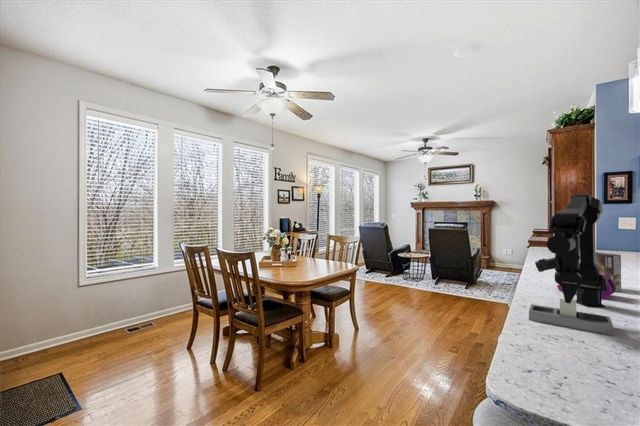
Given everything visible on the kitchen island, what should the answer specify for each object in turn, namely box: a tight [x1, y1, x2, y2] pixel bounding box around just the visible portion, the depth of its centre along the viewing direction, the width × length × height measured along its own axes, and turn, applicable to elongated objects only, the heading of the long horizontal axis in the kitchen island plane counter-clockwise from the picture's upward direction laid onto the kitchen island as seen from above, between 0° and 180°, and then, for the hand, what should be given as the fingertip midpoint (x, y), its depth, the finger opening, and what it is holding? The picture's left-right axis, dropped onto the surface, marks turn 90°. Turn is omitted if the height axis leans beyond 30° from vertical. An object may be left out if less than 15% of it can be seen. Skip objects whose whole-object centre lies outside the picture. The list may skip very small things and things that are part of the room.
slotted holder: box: [528, 303, 614, 337], centre depth 95 cm, size 20×9×3 cm, turn 50°
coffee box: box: [595, 251, 622, 293], centre depth 134 cm, size 9×6×16 cm
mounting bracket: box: [556, 273, 617, 300], centre depth 127 cm, size 9×8×18 cm
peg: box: [559, 295, 577, 317], centre depth 95 cm, size 4×4×8 cm
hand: (567, 299), depth 95 cm, fingers open, 9 cm apart
